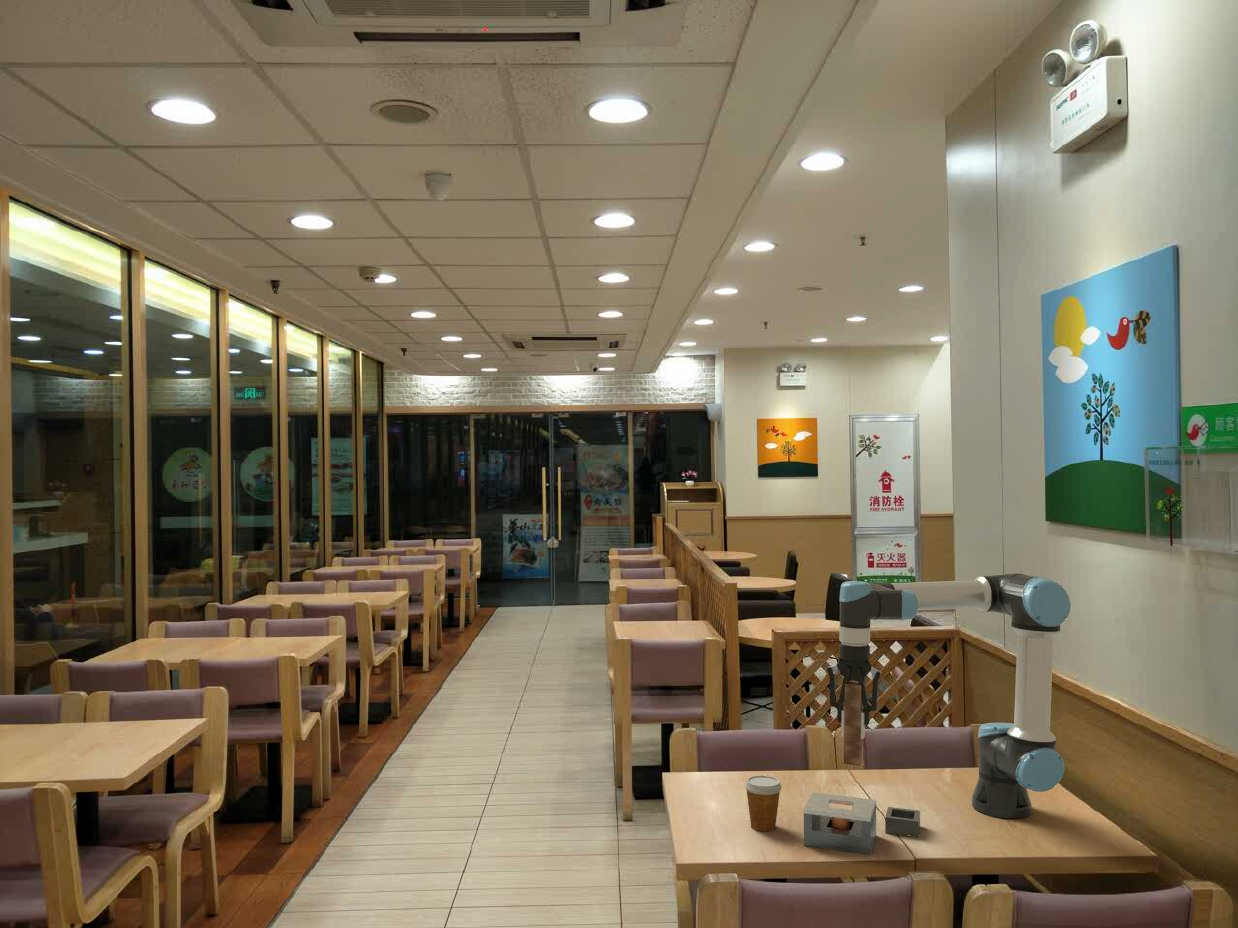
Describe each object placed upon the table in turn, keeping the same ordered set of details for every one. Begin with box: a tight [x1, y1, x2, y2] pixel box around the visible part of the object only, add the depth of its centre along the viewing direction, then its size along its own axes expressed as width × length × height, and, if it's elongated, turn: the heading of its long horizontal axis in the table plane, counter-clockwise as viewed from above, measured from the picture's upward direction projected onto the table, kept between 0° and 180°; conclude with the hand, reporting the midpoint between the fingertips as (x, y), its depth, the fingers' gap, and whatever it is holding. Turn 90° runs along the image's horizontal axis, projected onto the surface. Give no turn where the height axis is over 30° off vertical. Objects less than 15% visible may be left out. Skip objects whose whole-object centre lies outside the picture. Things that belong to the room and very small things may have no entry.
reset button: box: [831, 817, 850, 830], centre depth 237 cm, size 4×4×4 cm
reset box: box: [803, 791, 877, 856], centre depth 237 cm, size 16×13×9 cm
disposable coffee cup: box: [744, 775, 782, 832], centre depth 246 cm, size 10×10×12 cm
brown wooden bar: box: [843, 680, 864, 767], centre depth 239 cm, size 4×4×20 cm
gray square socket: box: [884, 806, 921, 838], centre depth 244 cm, size 8×8×4 cm
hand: (853, 736), depth 239 cm, fingers closed on brown wooden bar, 4 cm apart
